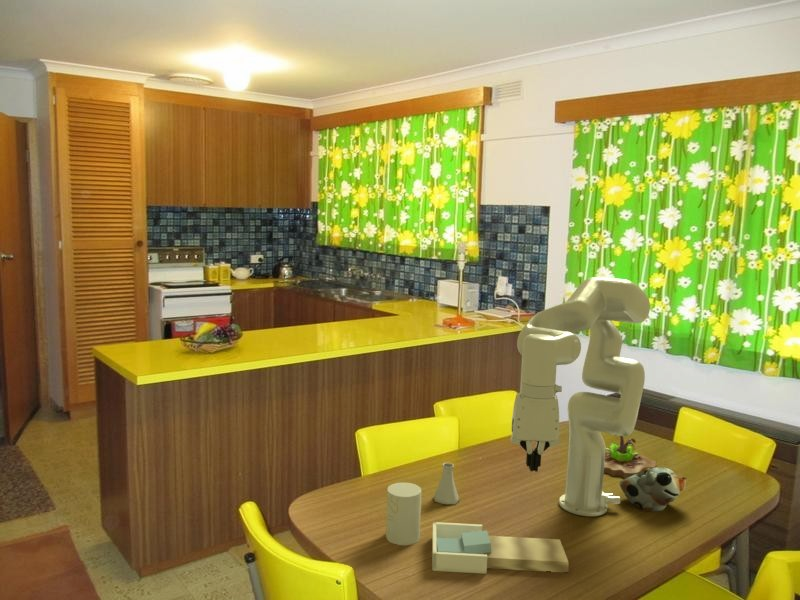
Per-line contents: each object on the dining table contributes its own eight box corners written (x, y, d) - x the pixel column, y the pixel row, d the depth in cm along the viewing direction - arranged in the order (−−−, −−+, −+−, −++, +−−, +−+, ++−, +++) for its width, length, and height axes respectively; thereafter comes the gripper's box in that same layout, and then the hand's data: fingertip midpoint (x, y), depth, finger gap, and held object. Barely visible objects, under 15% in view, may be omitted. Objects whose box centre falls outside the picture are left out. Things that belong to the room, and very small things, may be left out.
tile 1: (461, 547, 150) (461, 538, 150) (464, 561, 145) (464, 551, 144) (435, 546, 150) (436, 537, 150) (437, 560, 144) (437, 551, 144)
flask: (458, 507, 173) (459, 471, 172) (431, 503, 174) (432, 468, 173) (461, 495, 180) (462, 461, 179) (435, 492, 181) (436, 458, 180)
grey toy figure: (652, 490, 187) (680, 456, 181) (673, 523, 177) (703, 489, 171) (610, 480, 183) (638, 445, 177) (629, 514, 173) (658, 478, 167)
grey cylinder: (385, 528, 159) (386, 482, 158) (417, 528, 160) (419, 482, 159) (387, 545, 151) (388, 497, 150) (421, 545, 152) (423, 496, 151)
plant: (615, 451, 220) (618, 419, 218) (666, 470, 204) (669, 436, 202) (575, 461, 209) (577, 428, 208) (625, 483, 193) (628, 447, 191)
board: (559, 549, 152) (559, 539, 152) (567, 572, 142) (568, 562, 142) (482, 545, 153) (483, 535, 153) (485, 568, 143) (486, 557, 143)
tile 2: (487, 539, 151) (486, 530, 150) (491, 552, 145) (490, 543, 144) (462, 541, 151) (461, 533, 150) (464, 555, 145) (464, 545, 144)
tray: (481, 540, 155) (482, 524, 155) (486, 573, 141) (487, 556, 140) (432, 537, 156) (432, 522, 155) (432, 570, 141) (433, 553, 141)
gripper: (567, 386, 147) (562, 464, 149) (501, 384, 147) (497, 461, 150) (575, 396, 139) (570, 477, 142) (505, 393, 140) (501, 474, 142)
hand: (533, 469), depth 146 cm, fingers closed
